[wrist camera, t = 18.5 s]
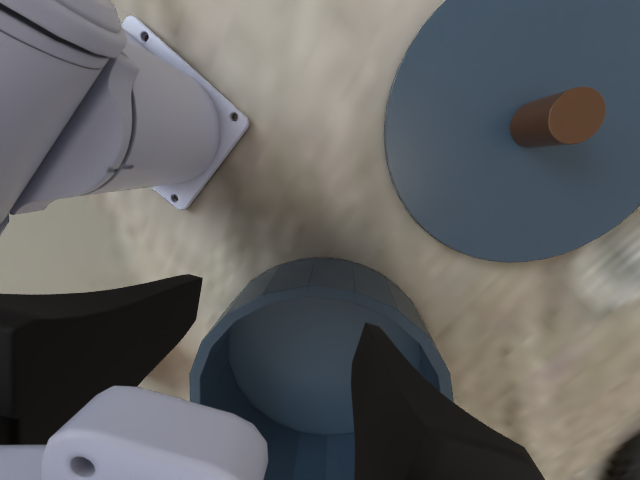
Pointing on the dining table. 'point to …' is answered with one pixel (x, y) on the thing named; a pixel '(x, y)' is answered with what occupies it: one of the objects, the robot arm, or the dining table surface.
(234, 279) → the dining table surface
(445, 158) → the pot lid
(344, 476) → the pot
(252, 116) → the dining table surface
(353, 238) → the dining table surface
